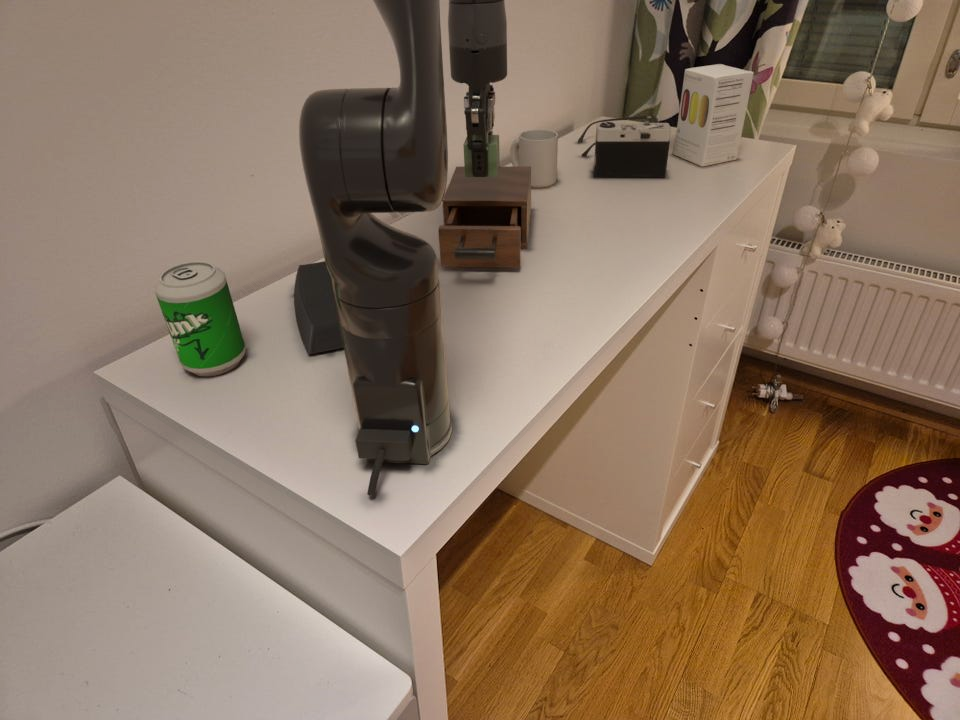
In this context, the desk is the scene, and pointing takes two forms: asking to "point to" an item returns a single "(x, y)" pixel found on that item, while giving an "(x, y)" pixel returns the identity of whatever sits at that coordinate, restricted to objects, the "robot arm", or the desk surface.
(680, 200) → the desk surface
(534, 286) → the desk surface
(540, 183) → the cup
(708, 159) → the supplement box
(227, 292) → the soda can
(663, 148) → the camera
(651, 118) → the sunglasses
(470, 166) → the block
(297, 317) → the hard drive
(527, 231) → the cabinet
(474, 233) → the drawer
